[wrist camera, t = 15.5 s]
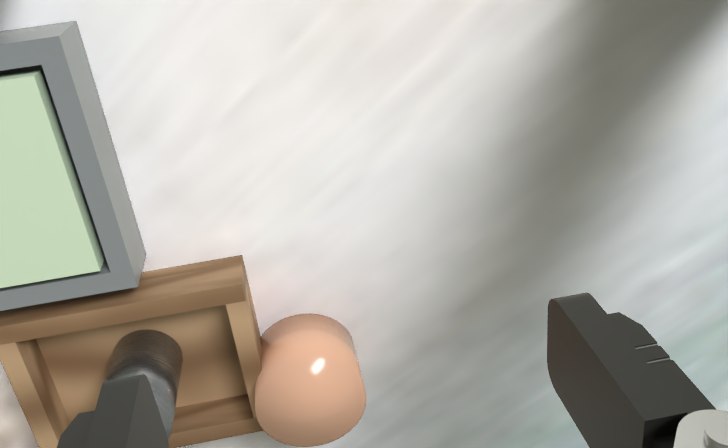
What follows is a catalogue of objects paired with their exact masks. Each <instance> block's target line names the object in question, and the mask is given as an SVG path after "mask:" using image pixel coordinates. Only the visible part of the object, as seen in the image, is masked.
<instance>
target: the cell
mask: <svg viewBox="0 0 728 448" xmlns="http://www.w3.org/2000/svg"><path fill="white" fill-rule="evenodd" d="M182 363H183V354H182V350H181V348H180V346H179V344H178V343H177V342H176V341H175V340H174V339H173V338H172V337H170V336H169V335H167V334H165V333H163V332H160V331H156V330H148V329H145V330H137V331H133V332H131V333H129V334H127V335H125V336H124V337H122V338H121V339H120V340H119V341H118V342H117V344H116V346H115V347H114V350H113V353H112V356H111V360H110V363H109V366H108V369H107V372H106V375H105V379H104V382H105V381H108V380H114V379H119V378H124V377H130V376H135V375H140V374H145V375H146V376H147V378H148V380H149V382H150V385H151V388H152V391H153V394H154V397H155V400H156V403H157V406H158V409H159V412H160V416H161V419H162V422H163V425H164V428H165V431H166V434H167V438H168V440H169V438H170V436H171V432H172V425H173V419H174V413H175V407H176V401H177V394H178V388H179V382H180V376H181V369H182ZM96 405H97V404H96ZM95 408H96V407H95Z"/></svg>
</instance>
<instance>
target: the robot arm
mask: <svg viewBox="0 0 728 448" xmlns="http://www.w3.org/2000/svg"><path fill="white" fill-rule="evenodd" d="M547 363H548V370H549V375H550V378H551V381H552V384H553V387H554V389H555V391H556V392H557V394H558V396H559V397H560V399H561V401H562V402H563V404H564V406H565V407H566V409H567V411H568V412H569V414H570V416H571V417H572V419H573V421H574V422H575V424H576V426H577V427H578V429H579V431H580V432H581V434H582V436H583V437H584V439H585V441H586V442H587V444H588V446H589V447H590V448H728V412H727V411H722V410H716V409H715V407H714V406H713V405H712V404H711V403H710V402H709V401H708V400H707V398H706V397H705V396H704V395H703V394H702V393H701V392H700V390H699V389H698V388H697V387H696V386H695V385H694V384H693V382H692V381H691V380H690V379H689V378H688V377H687V376H686V375H685V373H684V372H683V371H682V370H681V369H680V368H679V367H678V365H677V364H676V363H675V362H674V361H673V360H670V357H669V355H668V354H667V353H666V352H665V351H664V350H663V348H662V347H661V346H658V345H657V342H656V341H655V339H654V338H653V337H652V336H651V335H650V334H649V333H648V331H647V330H646V329H645V328H644V327H643V326H642V325H641V324H639V323H637V322H635V321H634V320H632V319H630V318H628V317H627V316H625V315H623V314H621V313H619V312H618V313H612V314H607V313H606V312H605V311H604V310H603V309H602V307H601V306H600V305H599V304H598V303H597V301H596V300H595V299H594V298H593V297H592V295H590V294H589V293H582V294H576V295H571V296H566V297H560V298H555V299H551V300H550V301H549V304H548V337H547ZM57 448H169V444H168V438H167V434H166V431H165V428H164V425H163V422H162V419H161V416H160V412H159V409H158V406H157V403H156V400H155V397H154V394H153V391H152V388H151V385H150V382H149V380H148V378H147V376H146V375H145V374H140V375H135V376H130V377H124V378H119V379H114V380H108V381H105V382H103V384H102V387H101V390H100V394H99V397H98V401H97V405H96V408H95V410H94V411H89V412H83V413H78V415H77V416H76V417H75V418H74V420H73V421H72V422H71V423H70V425H69V426H68V427H67V428H66V429H65V431H64V432H63V433H62V434H61V436H60V439H59V442H58V445H57Z"/></svg>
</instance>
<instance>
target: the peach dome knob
mask: <svg viewBox="0 0 728 448" xmlns="http://www.w3.org/2000/svg"><path fill="white" fill-rule="evenodd" d="M261 363H262V371H261V372H260V374H259V376H258V378H257V381H256V385H255V412H256V417H257V420H258V422H259V424H260V426H261V427H262V428H263V430H264V431H265V432H266V433H267V434H268V435H270V436H271V437H272V438H274V439H276V440H277V441H279V442H282V443H285V444H288V445H292V446H300V447H311V446H318V445H323V444H326V443H329V442H332V441H334V440H336V439H339V438H340V437H342V436H344V435H345V434H346V433H348V432H349V431H350V430H351V429H352V428H353V427H354V426H355V425H356V424H357V423H358V422H359V420H360V418H361V417H362V415H363V412H364V409H365V406H366V393H365V388H364V384H363V380H362V376H361V371H360V367H359V363H358V359H357V354H356V350H355V346H354V342H353V339H352V337H351V335H350V333H349V332H348V331H347V329H346V328H345V327H344V326H343V325H341V324H340V323H339V322H337V321H336V320H334V319H331V318H329V317H326V316H323V315H318V314H299V315H294V316H290V317H287V318H284V319H282V320H280V321H278V322H277V323H275V324H274V325H272V326H271V327H270V328H268V329H267V330H266V331H265V332H264V334H263V335H262V336H261Z"/></svg>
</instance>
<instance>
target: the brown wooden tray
mask: <svg viewBox="0 0 728 448" xmlns="http://www.w3.org/2000/svg"><path fill="white" fill-rule="evenodd" d="M145 329H148V330H156V331H160V332H163V333H165V334H167V335H169V336H170V337H172V338H173V339H174V340H175V341H176V342H177V343H178V344H179V346H180V348H181V350H182V354H183V363H182V369H181V376H180V382H179V388H178V394H177V401H176V407H175V413H174V419H173V425H172V432H171V436H170V438H169V440H168V444H169V448H176V447H181V446H186V445H191V444H197V443H202V442H207V441H212V440H217V439H222V438H227V437H232V436H237V435H243V434H248V433H253V432H258V431H263V428H262V427H261V426H260V424H259V422H258V420H257V417H256V412H255V385H256V381H257V378H258V376H259V374H260V372H261V371H262V363H261V337H260V333H259V328H258V324H257V319H256V315H255V311H254V306H253V302H252V297H251V293H250V288H249V284H248V279H247V275H246V271H245V266H244V262H243V257H242V255H240V256H234V257H228V258H223V259H217V260H211V261H205V262H200V263H194V264H188V265H182V266H177V267H171V268H165V269H159V270H154V271H148V272H142V273H141V277H140V281H139V285H138V287H134V288H129V289H123V290H117V291H111V292H106V293H100V294H94V295H89V296H83V297H77V298H72V299H66V300H60V301H54V302H49V303H43V304H37V305H32V306H26V307H20V308H15V309H9V310H3V311H0V361H1V363H2V365H3V367H4V370H5V372H6V374H7V376H8V378H9V381H10V383H11V385H12V387H13V390H14V392H15V394H16V396H17V398H18V401H19V403H20V405H21V407H22V410H23V412H24V414H25V416H26V418H27V421H28V423H29V425H30V427H31V430H32V432H33V434H34V436H35V438H36V441H37V443H38V445H39V447H40V448H57V445H58V442H59V439H60V436H61V434H62V433H63V432H64V431H65V429H66V428H67V427H68V426H69V425H70V423H71V422H72V421H73V420H74V418H75V417H76V416H77V415H78V413H83V412H89V411H94V410H95V407H96V404H97V401H98V397H99V394H100V390H101V387H102V384H103V382H104V379H105V375H106V372H107V369H108V366H109V363H110V360H111V356H112V353H113V350H114V347H115V346H116V344H117V342H118V341H119V340H120V339H121V338H122V337H124V336H125V335H127V334H129V333H131V332H133V331H137V330H145Z"/></svg>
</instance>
